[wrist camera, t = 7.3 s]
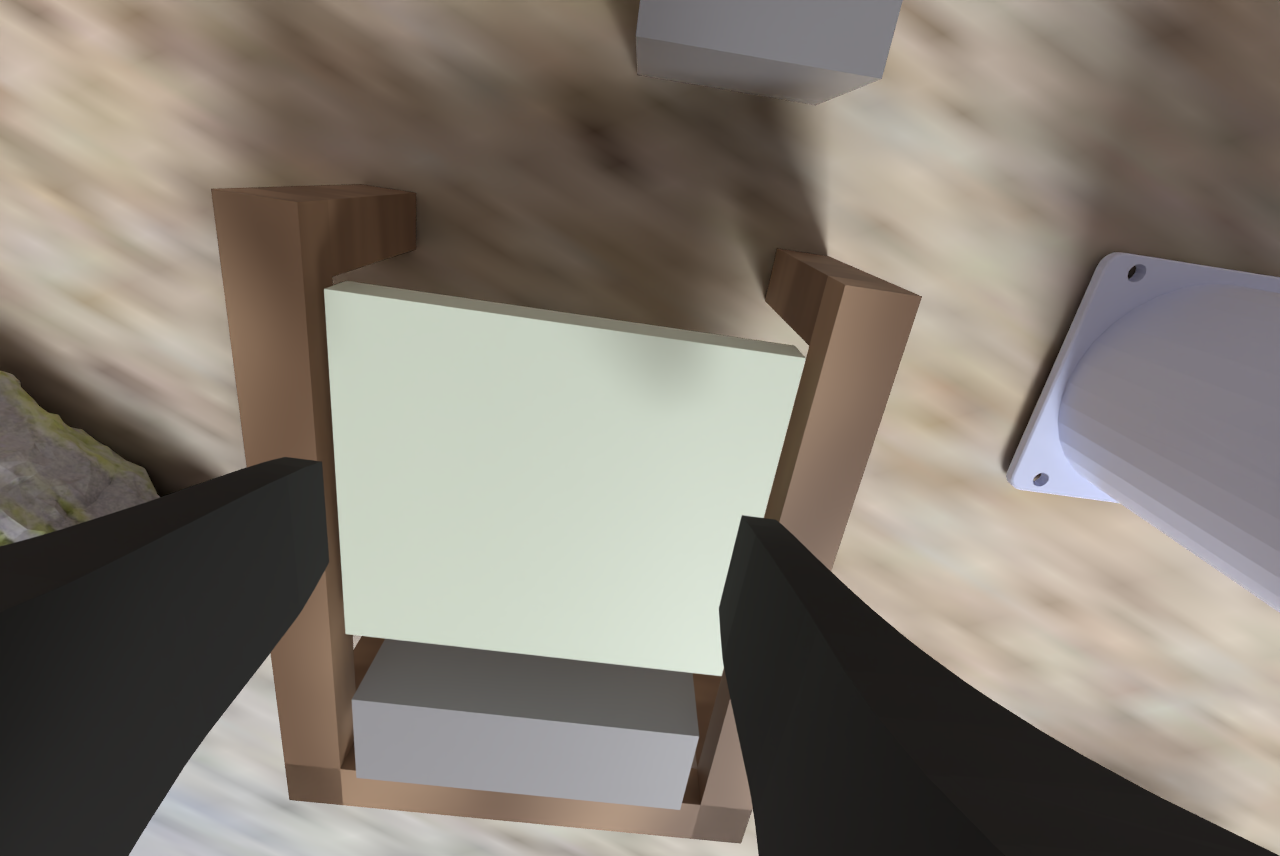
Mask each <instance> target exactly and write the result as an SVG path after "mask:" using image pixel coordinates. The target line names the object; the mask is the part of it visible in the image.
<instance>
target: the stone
mask: <svg viewBox="0 0 1280 856" xmlns="http://www.w3.org/2000/svg"><path fill="white" fill-rule="evenodd" d="M902 1H903V0H640V6H639V14H638V22H637V30H636V55H637V75H640V76H646V77H652V78H658V79H664V80H670V81H675V82H681V83H687V84H693V85H699V86H705V87H711V88H717V89H722V90H728V91H734V92H740V93H746V94H752V95H758V96H764V97H770V98H775V99H781V100H787V101H793V102H799V103H805V104H811V105H817V104H820V103H822V102H825V101H827V100H830V99H832V98H835V97H837V96H840V95H842V94H845V93H847V92H850V91H852V90H855V89H857V88H860V87H862V86H865V85H867V84H870V83H872V82H875V81H877V80H880V79H882V75H883V72H884V68H885V64H886V60H887V57H888V53H889V49H890V45H891V42H892V38H893V34H894V30H895V27H896V23H897V19H898V16H899V12H900V8H901V4H902Z"/></svg>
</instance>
